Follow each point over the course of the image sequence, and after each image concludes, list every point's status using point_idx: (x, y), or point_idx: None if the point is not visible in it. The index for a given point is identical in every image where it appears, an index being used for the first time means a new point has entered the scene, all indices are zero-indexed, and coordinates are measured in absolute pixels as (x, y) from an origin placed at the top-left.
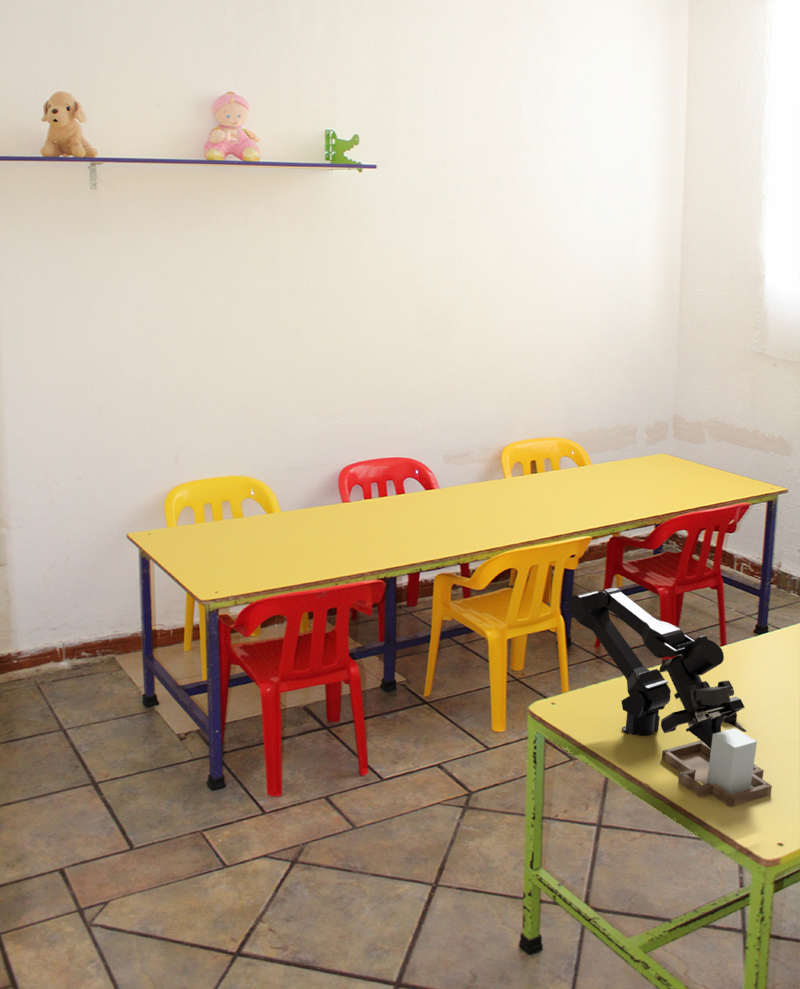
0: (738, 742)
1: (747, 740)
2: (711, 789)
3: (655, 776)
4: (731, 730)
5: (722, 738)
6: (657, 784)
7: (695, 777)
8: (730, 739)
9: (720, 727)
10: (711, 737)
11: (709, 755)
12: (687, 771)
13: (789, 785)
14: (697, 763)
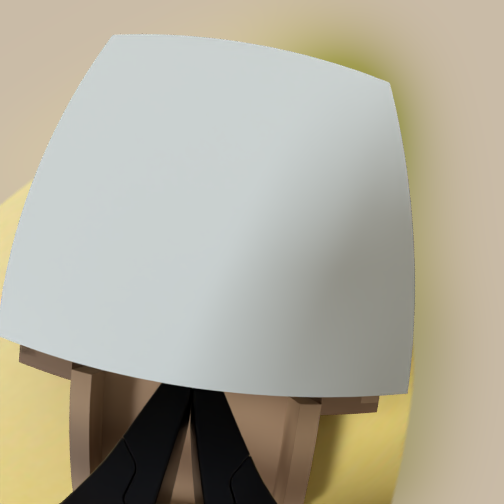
0: (290, 88)
1: (162, 65)
2: None
3: (356, 473)
4: (76, 326)
5: (394, 243)
6: (386, 434)
7: (280, 399)
8: (323, 169)
9: (81, 493)
10: (249, 462)
11: (99, 464)
12: (342, 408)
13: (20, 194)
14: (181, 464)
